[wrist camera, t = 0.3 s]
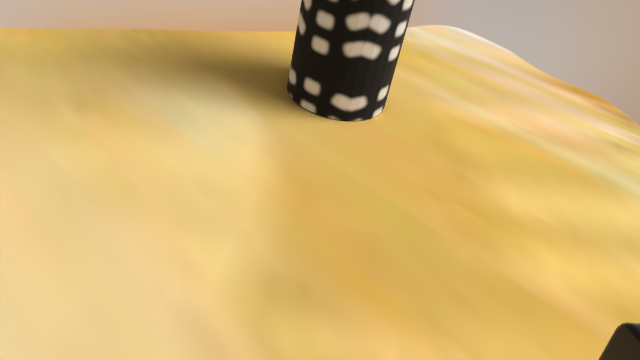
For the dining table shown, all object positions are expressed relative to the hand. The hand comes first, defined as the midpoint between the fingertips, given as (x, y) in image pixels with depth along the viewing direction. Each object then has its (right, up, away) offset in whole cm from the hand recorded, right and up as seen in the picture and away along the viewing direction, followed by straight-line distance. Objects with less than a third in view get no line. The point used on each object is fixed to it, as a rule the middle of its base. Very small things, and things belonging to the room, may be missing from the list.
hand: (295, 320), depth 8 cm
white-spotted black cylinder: (+2, +9, +42) cm, 43 cm away
